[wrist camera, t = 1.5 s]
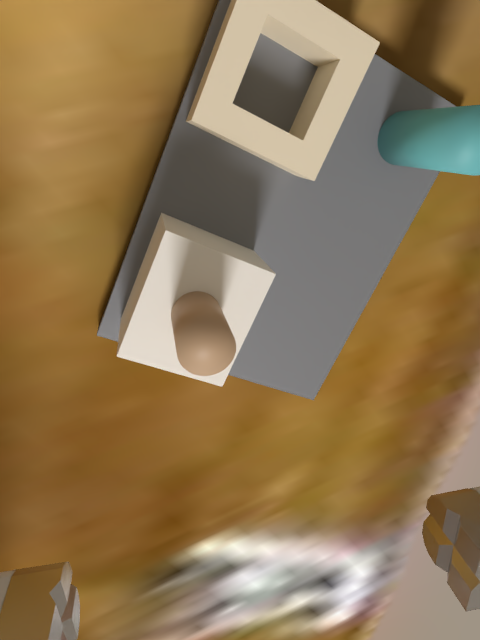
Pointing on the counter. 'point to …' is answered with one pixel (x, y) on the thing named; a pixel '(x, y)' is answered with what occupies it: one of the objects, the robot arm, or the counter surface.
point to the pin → (433, 139)
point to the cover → (192, 302)
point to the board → (288, 177)
